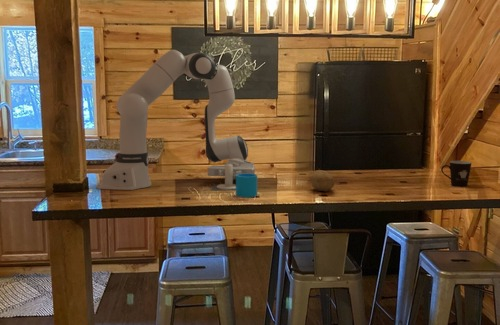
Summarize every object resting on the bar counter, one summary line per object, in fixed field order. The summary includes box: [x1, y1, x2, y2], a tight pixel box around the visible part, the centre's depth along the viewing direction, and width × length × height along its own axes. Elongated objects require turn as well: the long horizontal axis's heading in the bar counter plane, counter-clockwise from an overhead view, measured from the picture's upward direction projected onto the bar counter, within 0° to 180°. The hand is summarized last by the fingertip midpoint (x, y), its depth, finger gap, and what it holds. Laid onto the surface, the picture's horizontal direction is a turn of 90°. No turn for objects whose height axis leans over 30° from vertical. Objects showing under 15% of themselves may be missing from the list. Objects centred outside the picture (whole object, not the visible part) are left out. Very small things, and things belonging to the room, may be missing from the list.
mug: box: [235, 173, 258, 198], centre depth 206 cm, size 12×8×8 cm
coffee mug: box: [440, 160, 472, 188], centre depth 226 cm, size 12×9×10 cm
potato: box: [310, 169, 335, 192], centre depth 214 cm, size 10×14×8 cm
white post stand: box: [216, 163, 236, 191], centre depth 218 cm, size 10×10×10 cm
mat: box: [211, 184, 236, 192], centre depth 219 cm, size 14×12×1 cm
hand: (228, 174), depth 217 cm, fingers open, 5 cm apart
